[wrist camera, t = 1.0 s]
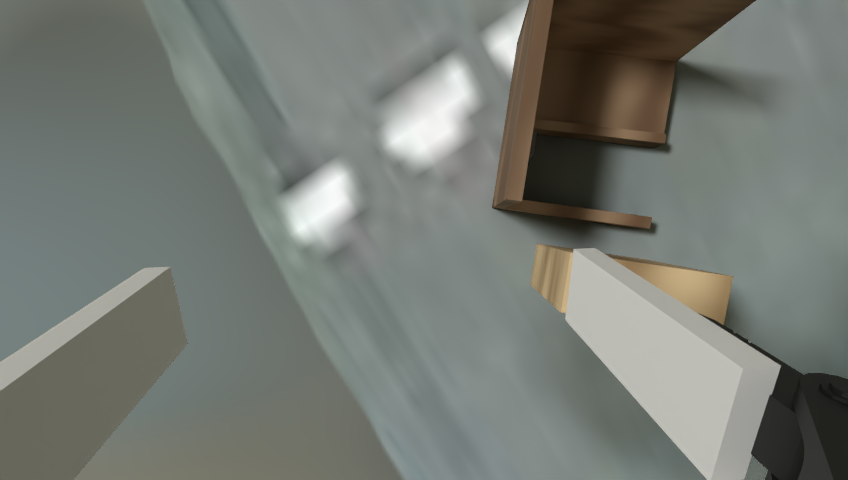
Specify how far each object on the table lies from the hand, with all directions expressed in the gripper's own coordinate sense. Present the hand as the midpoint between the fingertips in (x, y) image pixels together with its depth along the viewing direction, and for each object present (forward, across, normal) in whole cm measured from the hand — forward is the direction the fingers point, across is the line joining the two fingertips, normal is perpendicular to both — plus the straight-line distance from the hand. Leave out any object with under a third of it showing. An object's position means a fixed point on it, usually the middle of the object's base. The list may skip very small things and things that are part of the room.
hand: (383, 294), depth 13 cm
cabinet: (+24, +18, +4) cm, 31 cm away
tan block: (+21, +19, -9) cm, 29 cm away
